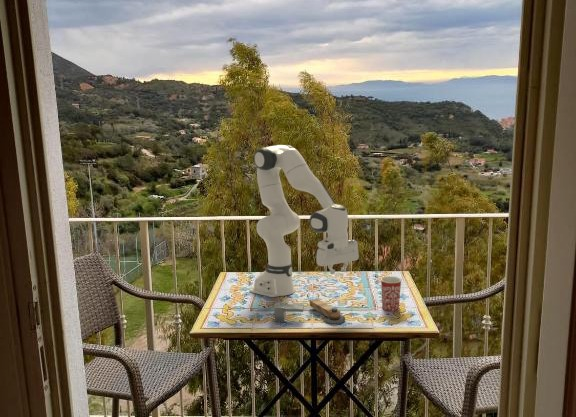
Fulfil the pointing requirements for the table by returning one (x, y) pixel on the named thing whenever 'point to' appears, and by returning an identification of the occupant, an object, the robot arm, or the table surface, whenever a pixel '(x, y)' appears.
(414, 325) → the table surface
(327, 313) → the walnut link
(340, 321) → the pivot base
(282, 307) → the keeper
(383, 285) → the mug
